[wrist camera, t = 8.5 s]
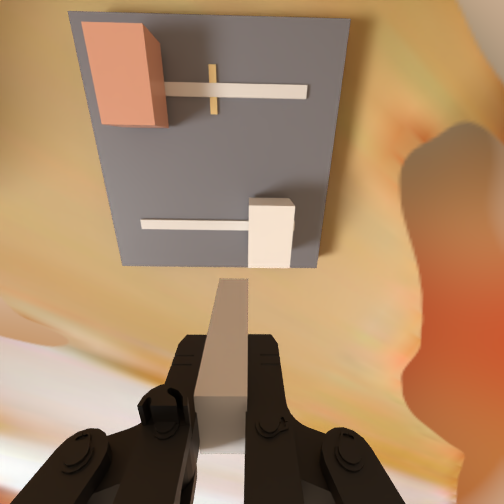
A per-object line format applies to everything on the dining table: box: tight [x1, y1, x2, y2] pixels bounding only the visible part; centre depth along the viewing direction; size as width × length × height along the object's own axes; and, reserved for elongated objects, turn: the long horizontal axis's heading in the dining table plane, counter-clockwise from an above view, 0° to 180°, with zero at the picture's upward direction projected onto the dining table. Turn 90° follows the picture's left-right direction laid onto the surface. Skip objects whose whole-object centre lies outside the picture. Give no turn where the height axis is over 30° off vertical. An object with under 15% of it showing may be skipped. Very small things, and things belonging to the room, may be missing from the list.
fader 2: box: [248, 198, 295, 268], centre depth 24 cm, size 4×6×4 cm, turn 179°
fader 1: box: [81, 22, 169, 128], centre depth 19 cm, size 4×6×4 cm, turn 179°
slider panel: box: [68, 11, 351, 268], centre depth 25 cm, size 22×22×3 cm
